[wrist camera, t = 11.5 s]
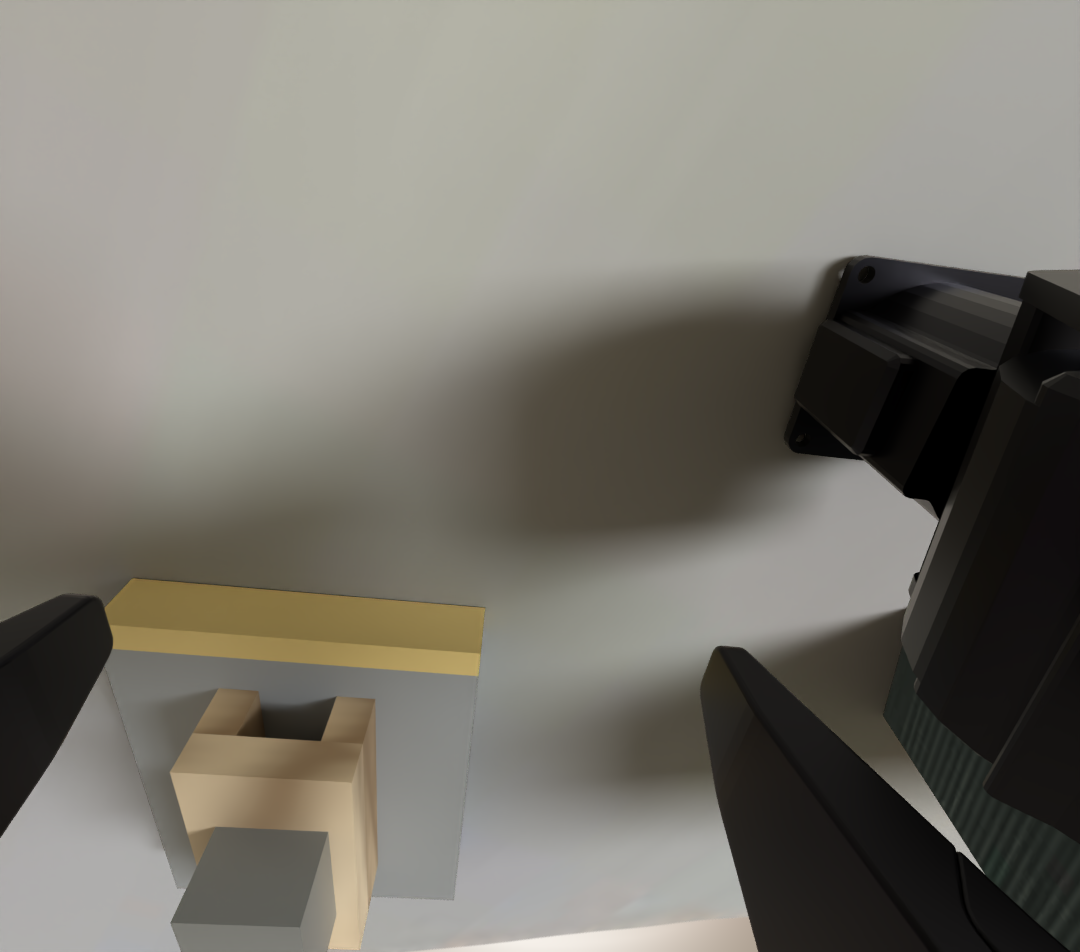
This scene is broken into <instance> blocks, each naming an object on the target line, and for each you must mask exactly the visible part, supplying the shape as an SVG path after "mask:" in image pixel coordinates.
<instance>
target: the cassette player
mask: <svg viewBox="0 0 1080 952" xmlns="http://www.w3.org/2000/svg"><path fill="white" fill-rule="evenodd" d="M916 678H917V677H916V675H915V674H914V672H913V671H912V668H911V665H910V663H909V660H908V658H907V655H906V653H905V650H904V647H903V645H902V649H901V652H900V656H899V660H898V663H897V667H896V671H895V674H894V678H893V681H892V685H891V689H890V692H889V696H888V699H887V703H886V707H885V710H884V714H883V716H884V718H885V719H886V721H887V722H888V724H889V725H890V727H891V729H892V730H893V732H894V733H895V735H896V736H897V738H898V740H899V741H900V743H901V744H902V746H903V747H904V749H905V750H906V752H907V754H908V755H909V757H910V758H911V760H912V761H913V763H914V764H915V766H916V768H917V769H918V771H919V772H920V774H921V775H922V777H923V778H924V780H925V782H926V783H927V785H928V786H929V788H930V789H931V791H932V792H933V794H934V796H935V797H936V799H937V800H938V802H939V803H940V805H941V806H942V808H943V810H944V811H945V813H946V814H947V816H948V817H949V819H950V820H951V822H952V824H953V825H954V827H955V828H956V830H957V831H958V833H959V834H960V836H961V838H962V839H963V841H964V842H965V844H966V845H967V847H968V848H969V850H970V852H971V853H972V855H973V856H974V858H975V859H976V861H977V862H978V864H979V866H980V867H981V869H982V870H983V872H984V873H985V875H986V876H987V877H988V878H989V879H990V880H991V881H992V882H993V883H995V884H996V885H997V886H998V887H999V888H1000V889H1001V890H1002V891H1003V892H1004V893H1005V894H1007V895H1008V896H1009V897H1010V898H1011V899H1012V900H1013V901H1014V902H1015V903H1016V904H1018V905H1019V906H1020V907H1021V908H1022V909H1023V910H1024V911H1025V912H1026V913H1027V914H1028V915H1030V916H1031V917H1032V918H1033V919H1034V920H1035V921H1036V922H1037V923H1038V924H1040V925H1041V926H1042V927H1043V928H1044V929H1045V930H1046V931H1048V932H1049V933H1050V934H1051V935H1052V936H1053V937H1055V938H1056V939H1057V940H1058V941H1059V942H1060V943H1061V944H1063V945H1064V946H1065V947H1066V948H1067V949H1068V950H1070V951H1071V952H1080V844H1079V843H1077V842H1076V841H1074V840H1072V839H1071V838H1069V837H1068V836H1066V835H1065V834H1063V833H1062V832H1060V831H1059V830H1057V829H1056V828H1054V827H1052V826H1050V825H1048V824H1046V823H1044V822H1042V821H1040V820H1038V819H1036V818H1034V817H1031V816H1029V815H1027V814H1025V813H1023V812H1021V811H1019V810H1017V809H1015V808H1013V807H1011V806H1009V805H1007V804H1005V803H1002V802H1000V801H998V800H996V799H995V798H993V797H991V796H990V795H989V794H988V793H987V792H986V791H985V789H984V788H983V781H984V780H985V778H986V776H987V774H988V773H989V771H990V769H991V767H992V766H993V764H991V763H990V762H988V761H987V760H985V759H984V758H982V757H981V756H979V755H978V754H977V753H975V752H974V751H973V750H972V749H971V748H970V747H968V746H967V745H966V744H965V743H964V742H963V741H962V740H960V739H959V738H958V737H957V736H956V735H955V734H953V733H952V732H951V731H950V730H949V729H948V728H947V727H945V726H944V725H943V724H942V723H941V722H940V721H939V720H938V719H937V718H936V717H935V716H934V714H933V713H932V712H931V711H930V710H929V708H928V707H927V706H926V705H925V704H924V702H923V701H922V700H921V699H920V698H919V697H918V695H917V694H916V692H915V690H914V683H915V681H916Z"/></svg>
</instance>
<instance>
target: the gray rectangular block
mask: <svg viewBox="0 0 1080 952" xmlns="http://www.w3.org/2000/svg"><path fill="white" fill-rule="evenodd" d="M335 919H336V905H335V895H334V885H333V875H332V865H331V854H330V844H329V834H328V832H321V831H299V830H278V829H256V828H235V827H215V829H214V831H213V833H212V835H211V837H210V839H209V842H208V844H207V846H206V848H205V850H204V852H203V854H202V857H201V859H200V861H199V863H198V865H197V867H196V869H195V872H194V874H193V876H192V878H191V880H190V882H189V884H188V887H187V889H186V891H185V893H184V895H183V897H182V899H181V902H180V904H179V906H178V908H177V910H176V912H175V914H174V917H173V919H172V921H171V926H172V928H173V931H174V934H175V936H176V939H177V942H178V944H179V947H180V950H181V952H327V950H328V946H329V942H330V939H331V935H332V931H333V927H334V923H335Z"/></svg>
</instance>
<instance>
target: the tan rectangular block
mask: <svg viewBox="0 0 1080 952" xmlns="http://www.w3.org/2000/svg"><path fill="white" fill-rule="evenodd" d="M170 775H171V778H172V782H173V785H174V789H175V792H176V796H177V799H178V803H179V806H180V809H181V813H182V816H183V820H184V823H185V827H186V830H187V834H188V837H189V841H190V844H191V848H192V851H193V854H194V858H195V861H196V865H198V863H199V861H200V859H201V857H202V854H203V852H204V850H205V848H206V846H207V844H208V842H209V839H210V837H211V835H212V833H213V831H214V829H215V827H235V828H256V829H278V830H299V831H321V832H328V834H329V844H330V854H331V865H332V875H333V885H334V895H335V905H336V919H335V923H334V927H333V931H332V935H331V939H330V942H329V946H328V949H349V950H360V947H361V943H362V938H363V933H364V928H365V924H366V919H367V914H368V909H369V905H370V900H371V895H372V890H373V886H374V881H375V876H376V871H377V867H378V841H377V775H376V709H375V699H368V698H353V697H339V696H337V697H336V700H335V703H334V706H333V709H332V711H331V714H330V717H329V720H328V723H327V725H326V728H325V731H324V734H323V737H322V740H321V741H309V740H293V739H277V738H266V736H265V730H264V723H263V717H262V710H261V704H260V697H259V691H252V690H238V689H223V688H219V689H218V690H217V692H216V694H215V696H214V697H213V699H212V701H211V702H210V704H209V706H208V708H207V709H206V711H205V713H204V714H203V716H202V718H201V720H200V721H199V723H198V725H197V726H196V728H195V730H194V732H193V733H192V735H191V737H190V738H189V740H188V742H187V744H186V745H185V747H184V749H183V750H182V752H181V754H180V756H179V757H178V759H177V761H176V762H175V764H174V766H173V768H172V769H171V771H170Z"/></svg>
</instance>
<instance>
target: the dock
mask: <svg viewBox="0 0 1080 952" xmlns="http://www.w3.org/2000/svg"><path fill="white" fill-rule="evenodd" d="M104 609H105V612H106V615H107V618H108V622H109V625H110V628H111V631H112V635H113V648H112V651H111V654H110V656H109V658H108V660H107V662H106V664H105V669H106V672H107V675H108V678H109V681H110V684H111V687H112V690H113V693H114V696H115V699H116V703H117V706H118V709H119V712H120V715H121V718H122V721H123V724H124V727H125V730H126V733H127V736H128V739H129V742H130V745H131V749H132V752H133V755H134V758H135V761H136V764H137V767H138V770H139V773H140V776H141V779H142V782H143V785H144V788H145V791H146V795H147V798H148V801H149V804H150V807H151V810H152V813H153V816H154V819H155V822H156V825H157V828H158V831H159V834H160V837H161V841H162V844H163V847H164V850H165V853H166V856H167V859H168V862H169V865H170V868H171V871H172V874H173V877H174V880H175V883H176V887H177V888H180V889H187V887H188V884H189V882H190V880H191V878H192V876H193V874H194V872H195V869H196V867H197V865H196V861H195V858H194V854H193V851H192V848H191V844H190V841H189V837H188V834H187V830H186V827H185V823H184V820H183V816H182V813H181V809H180V806H179V803H178V799H177V796H176V792H175V789H174V785H173V782H172V778H171V775H170V771H171V769H172V768H173V766H174V764H175V762H176V761H177V759H178V757H179V756H180V754H181V752H182V750H183V749H184V747H185V745H186V744H187V742H188V740H189V738H190V737H191V735H192V733H193V732H194V730H195V728H196V726H197V725H198V723H199V721H200V720H201V718H202V716H203V714H204V713H205V711H206V709H207V708H208V706H209V704H210V702H211V701H212V699H213V697H214V696H215V694H216V692H217V690H218V689H219V688H223V689H238V690H252V691H259V697H260V704H261V710H262V717H263V723H264V730H265V736H266V738H277V739H293V740H309V741H321V740H322V737H323V734H324V731H325V728H326V725H327V723H328V720H329V717H330V714H331V711H332V709H333V706H334V703H335V700H336V697H337V696H339V697H353V698H368V699H375V709H376V775H377V841H378V867H377V871H376V876H375V881H374V886H373V890H372V895H371V897H388V898H411V899H434V900H454V895H455V886H456V876H457V867H458V858H459V849H460V840H461V830H462V821H463V812H464V803H465V794H466V784H467V775H468V766H469V757H470V748H471V738H472V729H473V720H474V711H475V702H476V692H477V683H478V674H479V665H480V656H481V645H482V634H483V624H484V613H485V608H481V607H469V606H457V605H445V604H433V603H421V602H409V601H397V600H385V599H373V598H361V597H350V596H338V595H326V594H314V593H302V592H290V591H278V590H266V589H254V588H242V587H230V586H219V585H207V584H195V583H183V582H171V581H159V580H147V579H135V578H132V579H131V580H130V581H129V582H128V583H127V585H126V586H125V587H124V588H123V589H122V590H121V591H120V592H119V593H118V594H117V595H116V596H115V597H114V598H113V599H112V600H111V601H110V603H109V604H108V605H107V606H106V607H105V608H104Z"/></svg>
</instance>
